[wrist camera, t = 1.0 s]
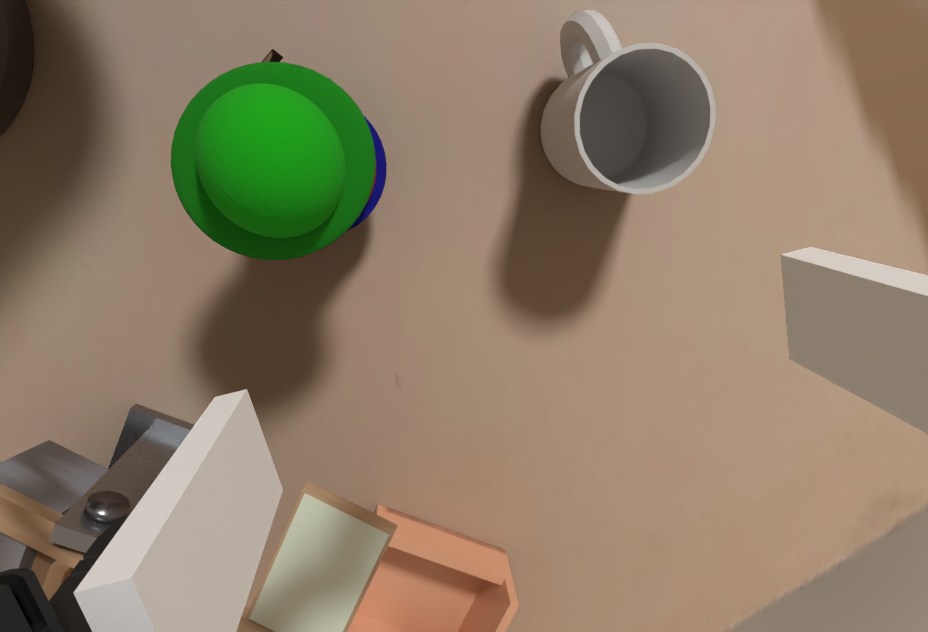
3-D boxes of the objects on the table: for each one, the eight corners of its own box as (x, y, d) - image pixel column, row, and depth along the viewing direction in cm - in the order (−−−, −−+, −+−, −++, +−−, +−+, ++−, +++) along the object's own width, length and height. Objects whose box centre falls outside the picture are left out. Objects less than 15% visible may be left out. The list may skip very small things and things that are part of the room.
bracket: (85, 540, 43) (-34, 678, 32) (135, 403, 41) (28, 498, 30) (170, 567, 45) (85, 710, 33) (223, 435, 42) (152, 539, 31)
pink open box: (329, 607, 46) (317, 671, 41) (377, 504, 45) (373, 555, 39) (454, 648, 48) (460, 714, 42) (505, 550, 46) (518, 606, 41)
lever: (20, 523, 40) (-101, 595, 32) (89, 323, 37) (-25, 350, 29) (324, 675, 39) (273, 785, 31) (416, 482, 36) (385, 552, 29)
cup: (565, 206, 41) (606, 218, 32) (501, 57, 38) (527, 27, 29) (666, 156, 40) (735, 155, 32) (608, 3, 38) (666, -43, 29)
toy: (289, 260, 40) (220, 317, 25) (212, 137, 38) (88, 123, 23) (412, 191, 40) (412, 208, 25) (340, 63, 37) (296, 1, 23)
